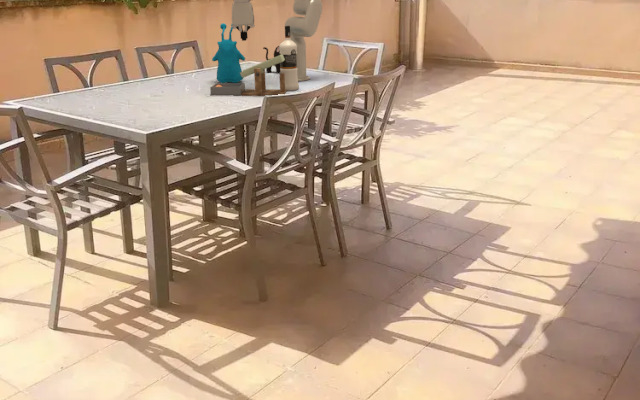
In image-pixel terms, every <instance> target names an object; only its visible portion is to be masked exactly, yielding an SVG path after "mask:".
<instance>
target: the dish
mask: <svg viewBox="0 0 640 400" xmlns="http://www.w3.org/2000/svg"><path fill="white" fill-rule="evenodd" d="M217 85H221V86H222V87H216V86H217ZM245 90H246V83H245V82H241V83H240V82H237V83H232V82H226V83H220V82H218V83H217V82H216V83H214V84H212V85H211V86H210V96H211V95H233V96H234V97H237V96H238V97H239V96H241V94H242V93H243V92H244V91H245ZM241 97H242V96H241Z"/></svg>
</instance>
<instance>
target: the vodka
mask: <svg viewBox="0 0 640 400" xmlns="http://www.w3.org/2000/svg"><path fill="white" fill-rule="evenodd" d="M278 46H279V50H280V55H281V54H283V56H284V58H285V60H284V61H283V62H281V63H280V67H281V68H280V72H281V73H285V89H287V92H293V91H297V90H299V88H300V84H299V81H298V76H297V45H296V43H294V42H293V41H291V38H290V26H285V25H284V40H283V41H282V42H280V44H279V45H278Z"/></svg>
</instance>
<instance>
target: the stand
mask: <svg viewBox="0 0 640 400" xmlns="http://www.w3.org/2000/svg"><path fill="white" fill-rule="evenodd" d="M263 71H264V73H262V74H261V68H254V74H253V75H254V88H253V89H251V88H250V89H249V88H247V89H246V88H245V91H244V92H243V93H242V94H241V97H251V96H252V97H266V96H265V95H278V94H284V95H285V94H286V93H287V92H288V91H287V89H285V73H279V89H276V88H275V89H267V88H266V87H267V86H266V69H264V70H263Z"/></svg>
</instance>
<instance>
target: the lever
mask: <svg viewBox="0 0 640 400" xmlns="http://www.w3.org/2000/svg"><path fill="white" fill-rule="evenodd" d="M268 59H269V60H265V61H263V62H259V63H258V64H256V65H252V66H251V67H248V68H246V69H243V70H242V72H240V74H241V77H242V78H243V79H245V78H246V77H249V76H251V75H254V68H261V74H262V73H264V71H263V70H264V69H265V70H266V68H268V67H271V66H272V67H274V66H273V65H276V64H278V63H281V62H283V61H284V60H285V58H284V56H283V54H281V55H279V56H277V57H274V56H273V57H272V58H268Z"/></svg>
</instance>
